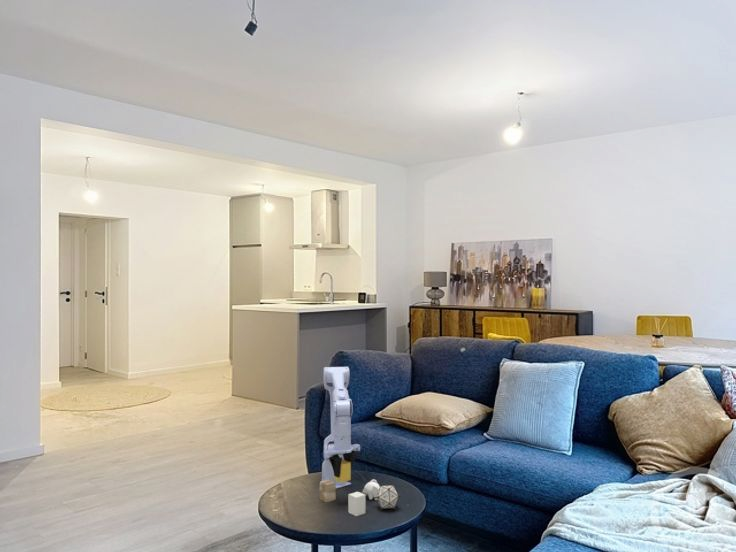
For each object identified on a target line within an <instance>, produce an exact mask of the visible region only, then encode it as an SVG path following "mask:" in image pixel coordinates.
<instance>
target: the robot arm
mask: <svg viewBox="0 0 736 552" xmlns="http://www.w3.org/2000/svg"><path fill="white" fill-rule="evenodd" d="M349 384H350V367H349V366H325V367H323V387H324V390H326V391H328V393H329V397H330V399H329V401H330V405H329V406H330V434H329V435H328V436H326V437H325V438H324V440H323V459H324V460H323V462H322V464H321V465H322V466H321V480H320V481H319V483H320V482H322V481H325V480H331V481H333V482H336V489H340V488H343V487H346V486H351V485H352V483H351V482H350V481H345V482H342V483H341V482H339V481H336V480H334V476H336V477H340V467H341V462H342V460H346V461H348V462H351V469H352V467H353V465H354V462H355V460H356V458H357V456H358V454H357V452H360V451H361V445H360V444H358V443H355V444H352V442H351V441H352V436H351V435H352V431H351V430H352V423H351V422H352V417H353V411H354V410H353V402H352V399H351V398H350V395H349V391H348V386H349Z"/></svg>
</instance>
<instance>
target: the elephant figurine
mask: <svg viewBox="0 0 736 552" xmlns="http://www.w3.org/2000/svg"><path fill="white" fill-rule="evenodd" d="M379 484H380V483H378V481H377V480H376V479H374V478H373V479H371V480H370V481H368V482H367V483H366V484H365V485H364V488H363V489H362V492H361V493H362V494H365V497H366V496H368V499H369V501H370V500H373V499H374V501H377V499H375V498H374V497H376V496H377V493H378V490H379V488H380V486H379Z"/></svg>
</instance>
